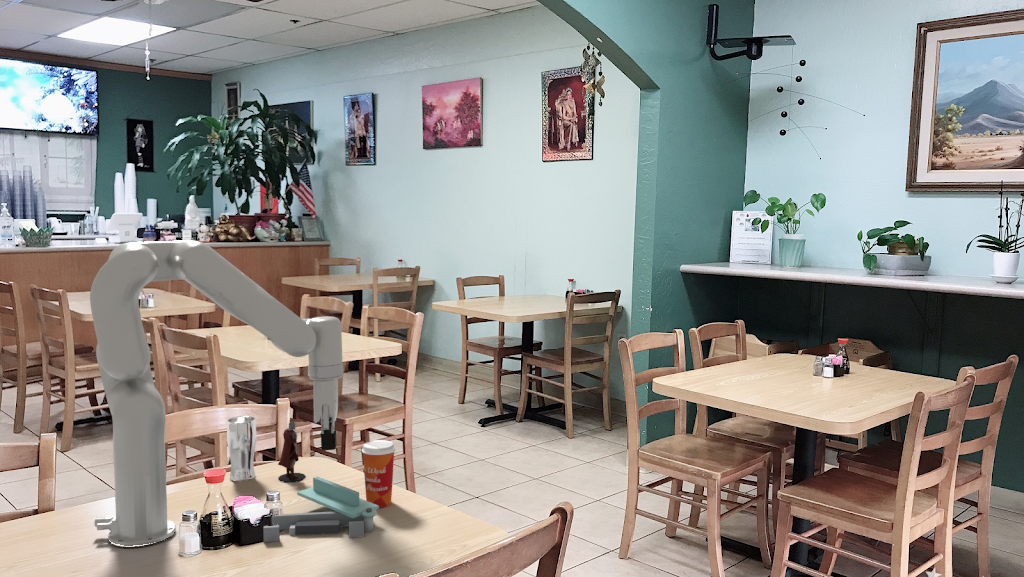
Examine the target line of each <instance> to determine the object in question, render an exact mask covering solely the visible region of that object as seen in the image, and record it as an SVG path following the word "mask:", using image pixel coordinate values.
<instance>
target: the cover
mask: <svg viewBox="0 0 1024 577" xmlns="http://www.w3.org/2000/svg"><path fill="white" fill-rule="evenodd" d="M296 495H297V496H299V497H301V498H304V499H306V500H308V501H311V502H312V503H315V504H318V505H319V506H323V507H325V508H328V509H330V510H333V512H336V511H337V512H339V513H341V514H344V515H346V516H349V517H351V518H355V517H358V516H360V515H362V516H363V517H373V518H374V517H376V515H377V510H380V508H379V506H378V505H376V504H373V503H371V502H368V501H366V499H363V498H360V492H359V491H357V490H353V489H351V488H349V487H346V486H344V485H341V484H339V483H336V482H333V481H331V480H328V479H325V478H322V477H320V476H315V477H313V478H312V487H309V488H305V489H302V490H299V491H297V492H296Z"/></svg>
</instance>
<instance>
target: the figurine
mask: <svg viewBox="0 0 1024 577" xmlns="http://www.w3.org/2000/svg"><path fill="white" fill-rule="evenodd" d="M295 430H296V423H295V419H293V418H292V419H290V420H289V422H288V428H286V429H285V430H284V431H283V435H282V436H283V444H282V445H283V446H282V450H281V451H282V452H281V455H280V456H281V457H280V460H279V461H278V463H277V465H278V466H280V467H284V468H285V470H286V473H284V474H281V475H279V476H278V477H277V478H278V481H279V480H280V481H279V482H281V481H284V482H283V483H290V482H292V483H297V482H300V481H304V480H305V479H306V475H305V474H304V473H301V472H295V465H296V462H298V461H299V453H300V449H299V446H300V443H298V441H297V440H298V434H297V431H295ZM297 443H298V444H297ZM304 478H305V479H304ZM303 479H304V480H303ZM296 481H297V482H296Z"/></svg>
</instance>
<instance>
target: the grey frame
mask: <svg viewBox="0 0 1024 577" xmlns="http://www.w3.org/2000/svg"><path fill="white" fill-rule="evenodd" d="M279 514H280V515H277V516H276V515H275V516H272V524H273V523H274V526H268V525H263V527H262V528H263V543H272V542H273V543H274V542H280V536H281V535H280V532H281V530H282V531H283V530H290V526H291V525H296V523H297V521H322V520H341V527H343V528H344V527H348V538H349V539H350V538H364V537H365V532H372V531H374V517H363V516H362V515H360V516H358V517H355V518H351V517H349V516H346V515H344V514H341V513H339V512H337V511H322V512H321V511H320V512H319V511H318V512H302V513H301V512H300V513H299V512H298V513H279ZM277 524H278V525H277Z"/></svg>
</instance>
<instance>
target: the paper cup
mask: <svg viewBox="0 0 1024 577" xmlns="http://www.w3.org/2000/svg"><path fill="white" fill-rule="evenodd" d="M395 451H397V450H396V447H395V445H394V442H392V441H391V440H390V441H389V440H386V439H385V440H384V439H377V440H370V441H367V442H365V443H364V444H363V446H362V449H361V452H362V454H363V455H362V456H363V457H362V458H363V473H364V487H365V498H366V499H365V501H368V502H371V503H373V504H376V505H378V506H379V509H381V508H385V507H386V508H387V507H388V506H390V505H391V503H392V496H393V494H392V493H393V479H394V463H395V462H394V460H395V459H394V458H395Z"/></svg>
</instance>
